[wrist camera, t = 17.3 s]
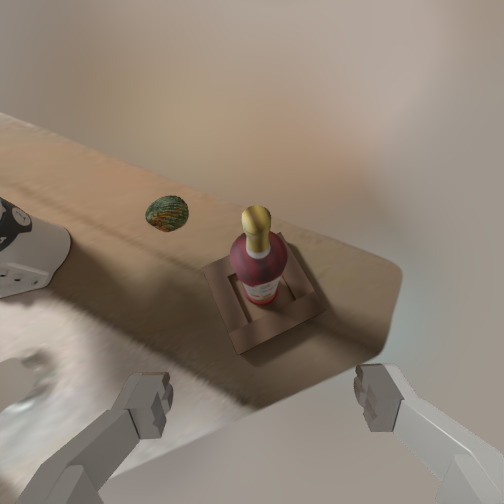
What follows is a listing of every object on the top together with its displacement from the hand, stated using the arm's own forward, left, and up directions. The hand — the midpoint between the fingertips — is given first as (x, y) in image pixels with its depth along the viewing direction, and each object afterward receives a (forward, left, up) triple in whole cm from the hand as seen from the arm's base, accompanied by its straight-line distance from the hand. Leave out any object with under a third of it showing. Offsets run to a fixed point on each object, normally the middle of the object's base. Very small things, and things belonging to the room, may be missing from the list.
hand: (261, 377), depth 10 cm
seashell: (-7, +38, -38) cm, 54 cm away
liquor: (+5, +11, -35) cm, 38 cm away
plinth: (+5, +11, -37) cm, 39 cm away
